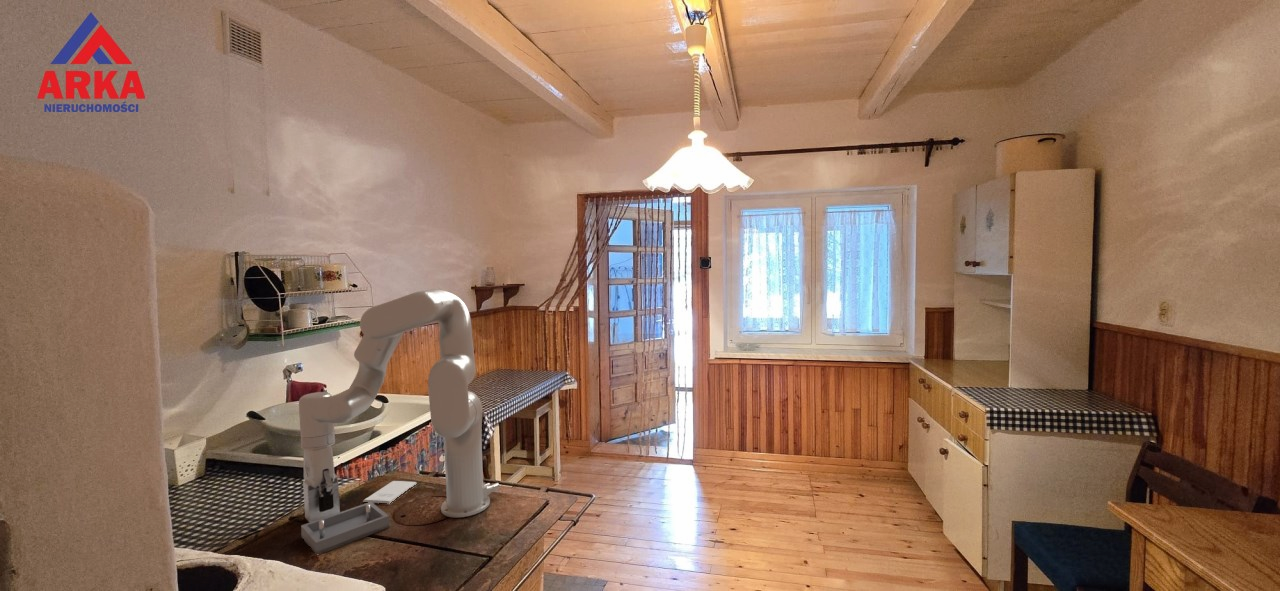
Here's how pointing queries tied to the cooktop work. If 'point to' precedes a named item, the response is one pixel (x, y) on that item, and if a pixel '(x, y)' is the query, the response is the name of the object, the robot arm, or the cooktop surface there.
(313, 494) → the block
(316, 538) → the tray
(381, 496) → the external hard drive
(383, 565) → the cooktop surface
